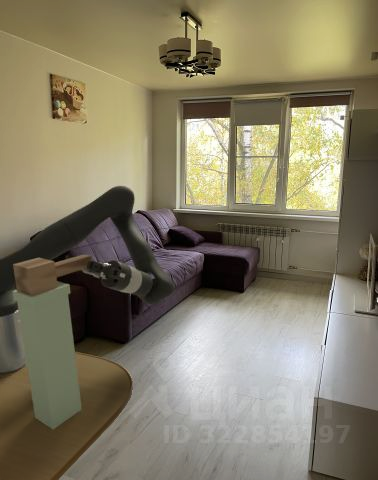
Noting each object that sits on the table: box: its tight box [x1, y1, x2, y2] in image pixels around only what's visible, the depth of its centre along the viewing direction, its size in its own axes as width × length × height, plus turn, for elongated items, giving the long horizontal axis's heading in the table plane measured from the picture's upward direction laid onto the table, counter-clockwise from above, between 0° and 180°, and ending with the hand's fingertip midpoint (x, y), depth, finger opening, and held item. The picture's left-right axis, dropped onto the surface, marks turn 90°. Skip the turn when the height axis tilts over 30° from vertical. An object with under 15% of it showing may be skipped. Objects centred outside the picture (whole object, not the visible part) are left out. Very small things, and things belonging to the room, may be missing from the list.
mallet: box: [13, 254, 93, 296], centre depth 84 cm, size 6×17×6 cm, turn 143°
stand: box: [13, 280, 83, 430], centre depth 85 cm, size 8×9×32 cm
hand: (76, 261), depth 88 cm, fingers open, 8 cm apart
